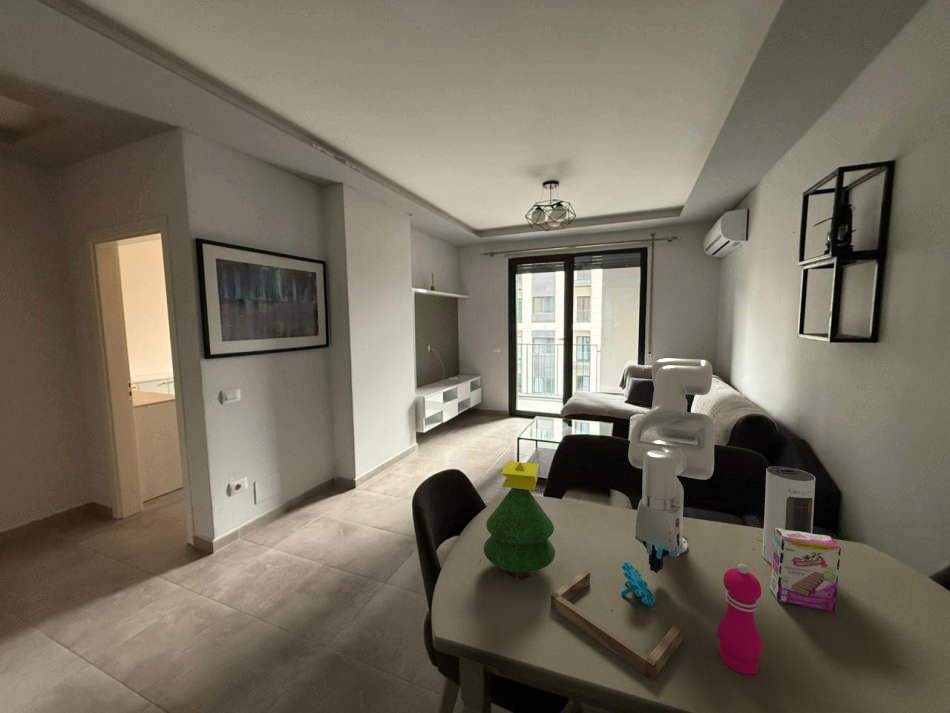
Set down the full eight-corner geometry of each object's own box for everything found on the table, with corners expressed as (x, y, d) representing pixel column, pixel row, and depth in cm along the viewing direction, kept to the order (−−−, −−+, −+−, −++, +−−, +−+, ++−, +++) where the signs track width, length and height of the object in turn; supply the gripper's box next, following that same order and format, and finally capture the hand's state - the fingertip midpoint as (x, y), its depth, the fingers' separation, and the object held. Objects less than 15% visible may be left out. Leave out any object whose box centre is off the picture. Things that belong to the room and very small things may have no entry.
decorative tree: (475, 588, 94) (474, 473, 92) (492, 545, 113) (491, 448, 110) (552, 602, 89) (553, 481, 87) (556, 554, 108) (557, 454, 105)
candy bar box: (777, 603, 88) (781, 537, 87) (769, 589, 93) (772, 526, 92) (837, 614, 85) (842, 546, 83) (824, 599, 89) (829, 534, 88)
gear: (657, 612, 84) (625, 572, 87) (637, 625, 85) (605, 585, 89) (656, 587, 94) (627, 552, 97) (638, 599, 95) (609, 564, 99)
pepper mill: (707, 646, 77) (712, 554, 75) (740, 643, 77) (745, 552, 76) (735, 679, 70) (740, 578, 68) (770, 675, 70) (776, 575, 69)
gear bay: (584, 580, 97) (584, 569, 97) (683, 639, 78) (683, 626, 78) (550, 607, 88) (550, 595, 88) (652, 680, 69) (653, 665, 69)
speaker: (768, 568, 101) (773, 475, 99) (755, 547, 110) (760, 462, 108) (817, 578, 97) (824, 481, 95) (800, 555, 107) (806, 467, 104)
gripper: (695, 506, 91) (692, 578, 92) (636, 487, 103) (634, 551, 104) (683, 516, 86) (680, 591, 88) (622, 494, 98) (620, 561, 99)
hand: (655, 569), depth 96 cm, fingers closed
